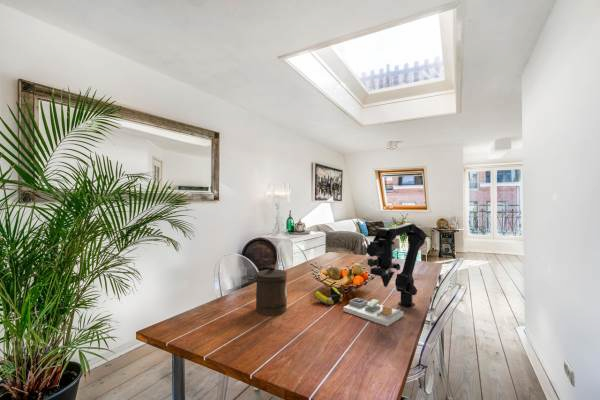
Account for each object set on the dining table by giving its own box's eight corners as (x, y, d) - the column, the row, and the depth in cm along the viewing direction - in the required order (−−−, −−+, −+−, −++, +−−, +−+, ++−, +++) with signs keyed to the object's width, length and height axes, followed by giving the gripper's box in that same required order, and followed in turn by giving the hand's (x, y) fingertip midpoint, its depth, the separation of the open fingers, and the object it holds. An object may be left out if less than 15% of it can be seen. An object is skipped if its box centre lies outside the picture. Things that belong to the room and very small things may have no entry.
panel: (360, 303, 148) (360, 295, 148) (403, 316, 132) (403, 307, 132) (343, 311, 138) (343, 302, 138) (387, 326, 121) (387, 316, 121)
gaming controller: (313, 301, 150) (326, 307, 142) (313, 291, 150) (326, 296, 142) (333, 295, 160) (346, 300, 152) (333, 286, 160) (346, 290, 152)
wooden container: (292, 309, 139) (293, 264, 139) (269, 318, 129) (270, 270, 129) (272, 302, 150) (272, 260, 150) (249, 310, 139) (249, 264, 139)
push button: (357, 302, 143) (357, 298, 143) (364, 304, 141) (364, 300, 141) (352, 304, 141) (352, 300, 141) (359, 306, 138) (359, 302, 138)
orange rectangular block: (384, 312, 130) (384, 305, 130) (391, 314, 128) (392, 307, 128) (382, 313, 129) (382, 306, 129) (389, 316, 126) (389, 308, 126)
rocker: (373, 300, 138) (373, 298, 138) (379, 302, 136) (378, 300, 136) (366, 306, 134) (366, 304, 134) (372, 308, 132) (372, 306, 132)
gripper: (380, 249, 149) (380, 279, 149) (360, 254, 136) (360, 287, 136) (400, 252, 141) (400, 284, 142) (381, 258, 128) (381, 292, 128)
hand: (385, 286), depth 137 cm, fingers closed
